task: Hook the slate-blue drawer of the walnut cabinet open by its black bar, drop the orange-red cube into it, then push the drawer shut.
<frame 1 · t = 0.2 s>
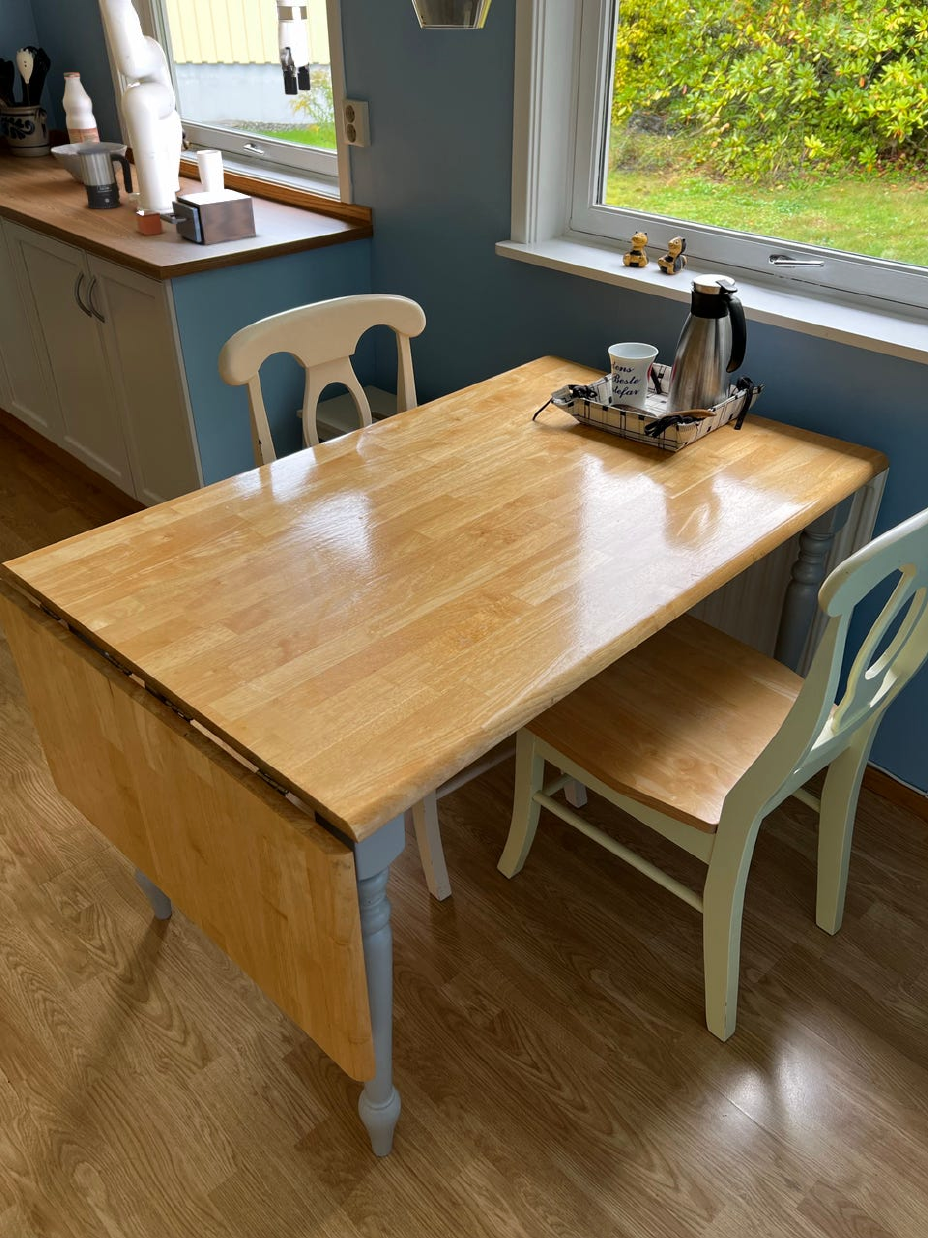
hand: (298, 92, 251), 31 cm above the table, tool pointing down, fingers open, 9 cm apart
cabinet: (219, 235, 252), on the table
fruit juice: (89, 166, 332), on the table
vase: (166, 190, 300), on the table
ceramic bowl: (96, 182, 310), on the table
milk frother: (105, 203, 285), on the table
drawer: (199, 219, 247), point 5 cm above the table, slide at 0.5 cm
white cylinder: (216, 209, 279), on the table
orange-red cube: (150, 232, 255), on the table
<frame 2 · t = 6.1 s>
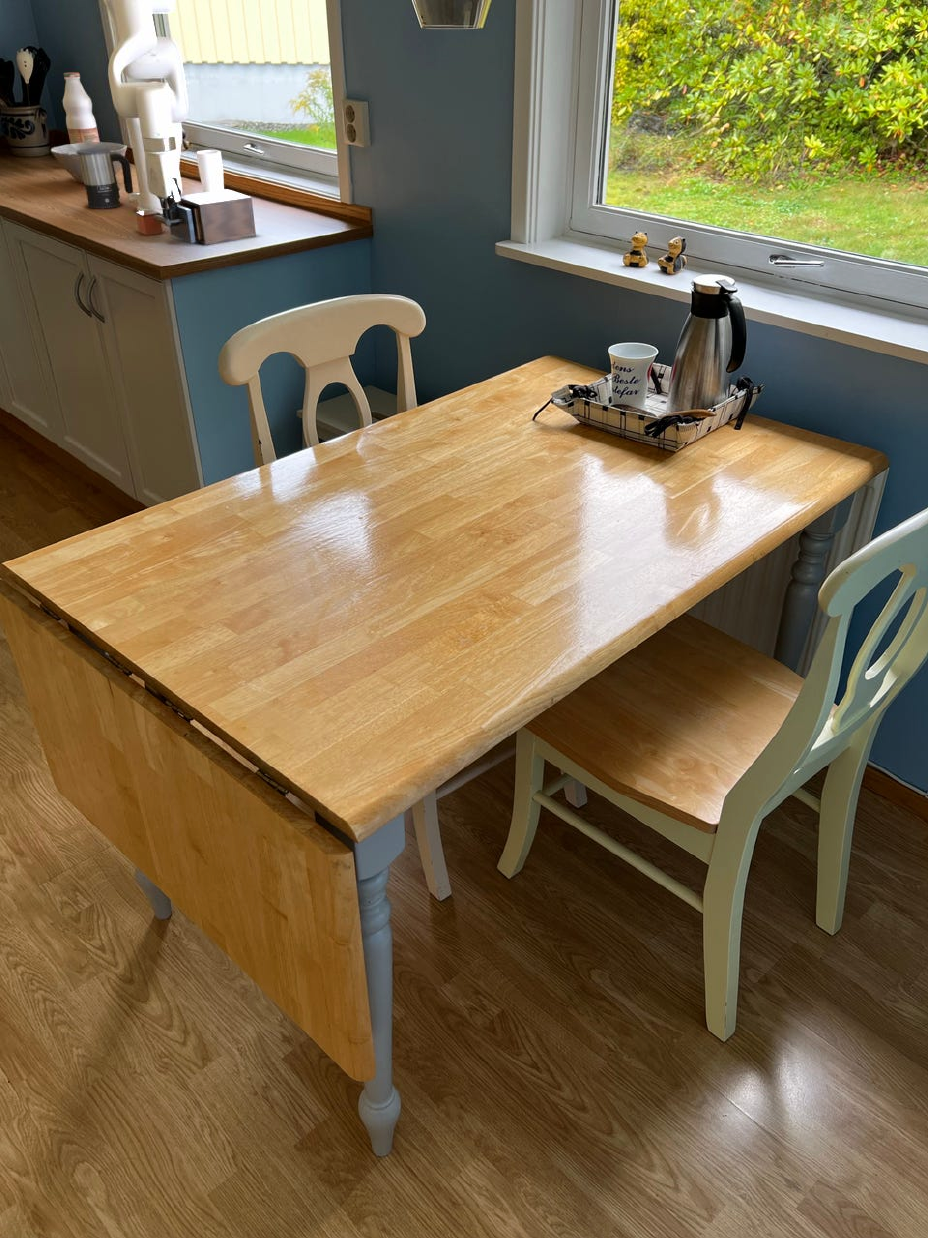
hand: (172, 225, 243), 4 cm above the table, tool pointing down, fingers closed
drawer: (194, 219, 246), point 5 cm above the table, slide at 2.2 cm, touching gripper
everything else where it was.
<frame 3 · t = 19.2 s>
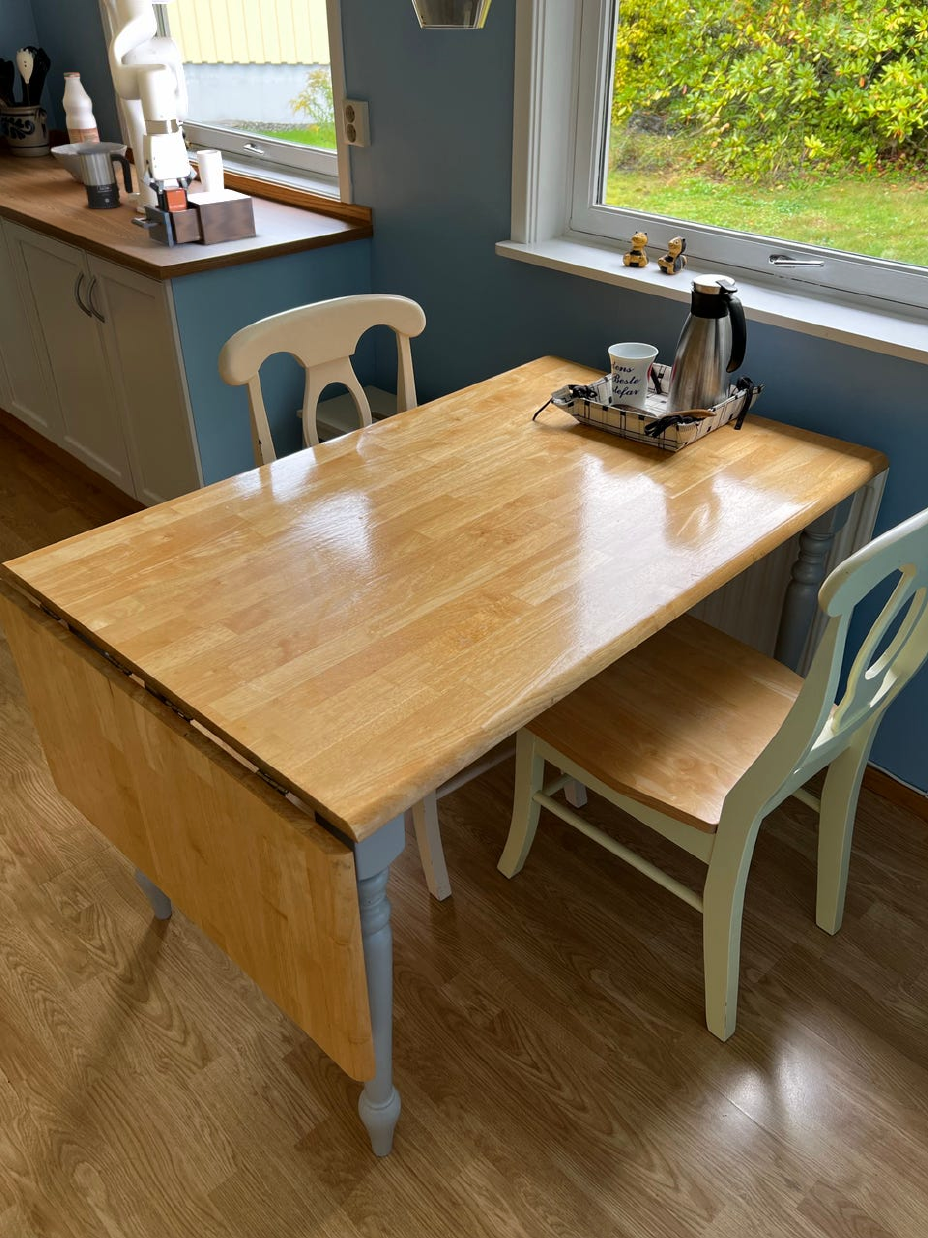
hand: (174, 207, 242), 8 cm above the table, tool pointing down, fingers closed on orange-red cube, 4 cm apart
drawer: (172, 223, 243), point 5 cm above the table, slide at 8.0 cm
orange-red cube: (174, 208, 242), point 8 cm above the table, touching gripper
everything else where it was.
when the fingers open (10 cm above the table, at t = 28.0 s): orange-red cube drops 8 cm, resting on drawer.
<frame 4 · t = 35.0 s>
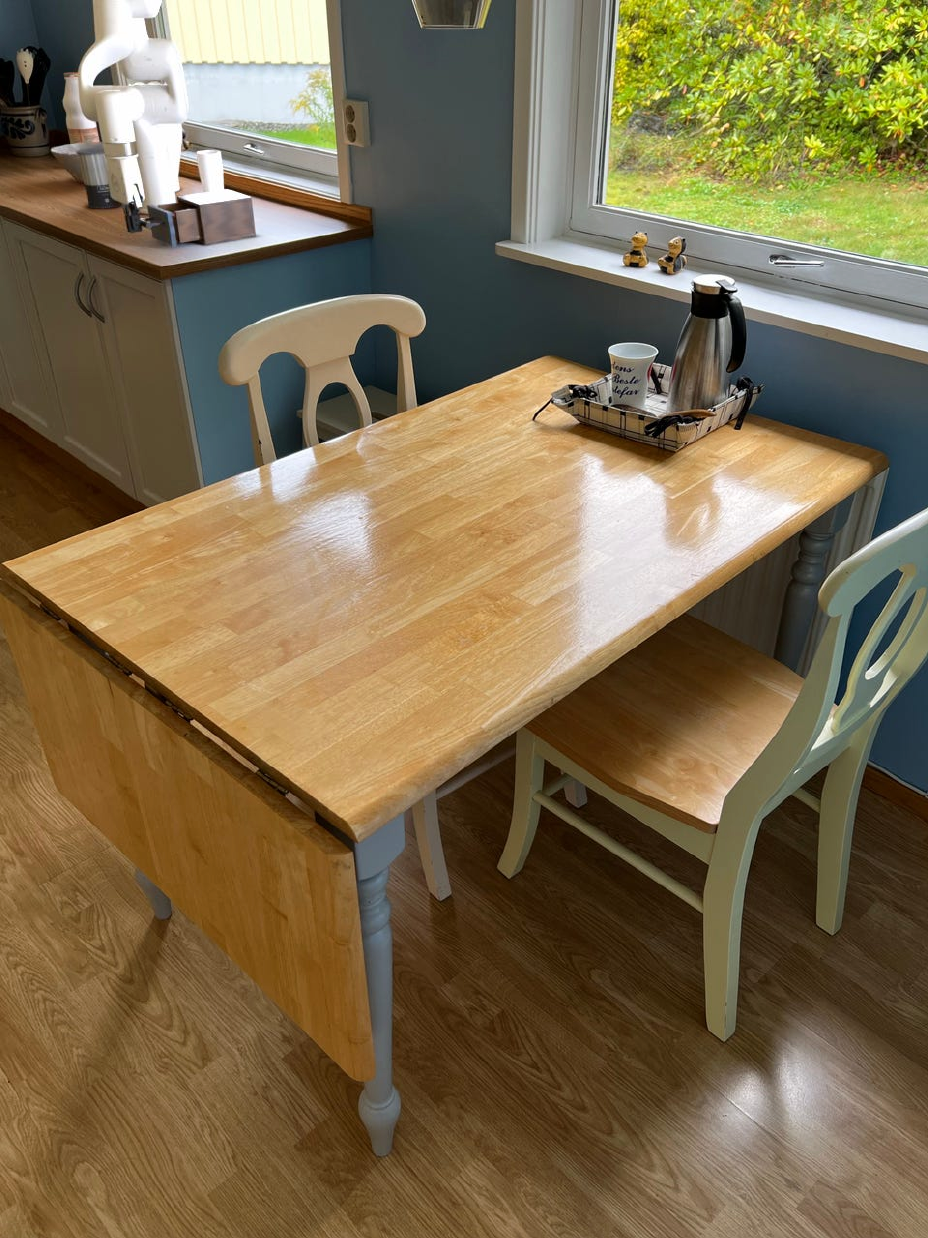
hand: (135, 231, 238), 4 cm above the table, tool pointing down, fingers closed
drawer: (175, 222, 243), point 5 cm above the table, slide at 7.3 cm, touching orange-red cube
orange-red cube: (181, 233, 246), point 2 cm above the table, touching drawer
everything else where it was.
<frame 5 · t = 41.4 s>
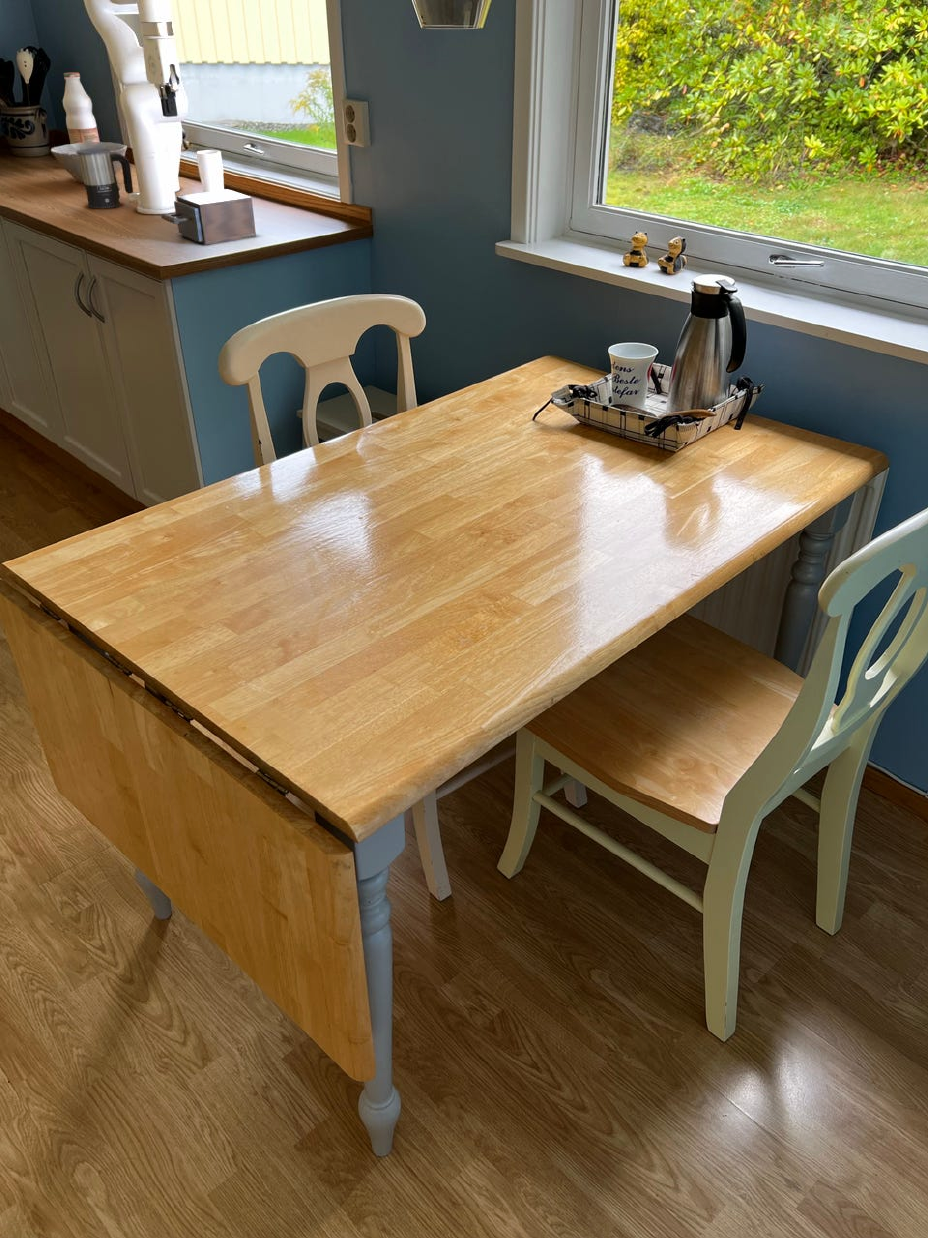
hand: (170, 115, 242), 27 cm above the table, tool pointing down, fingers closed
drawer: (201, 218, 247), point 5 cm above the table, slide at 0.0 cm, touching orange-red cube
orange-red cube: (207, 229, 249), point 2 cm above the table, touching drawer
everything else where it was.
at the end: drawer pulled out 8.0 cm at the most during the clip, back to where it started at the end; orange-red cube inside the target area in the cabinet (0.3 cm from its centre), point 2.0 cm above the cabinet's base; drawer slide at 0.0 cm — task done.
